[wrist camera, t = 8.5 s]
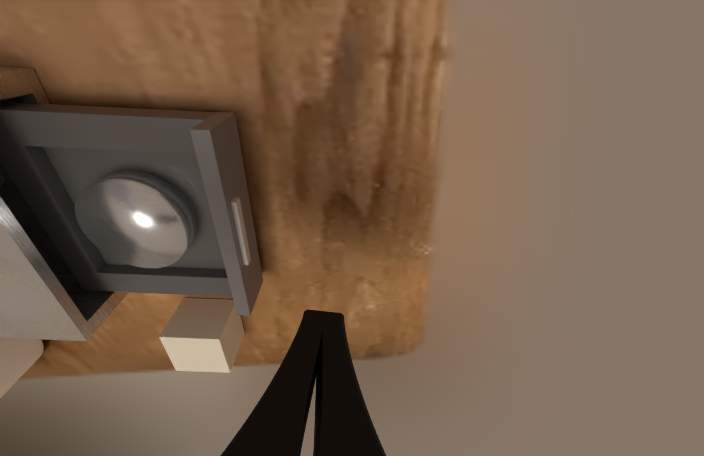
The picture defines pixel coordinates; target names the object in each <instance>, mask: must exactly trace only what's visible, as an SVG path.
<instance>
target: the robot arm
mask: <svg viewBox="0 0 704 456" xmlns="http://www.w3.org/2000/svg"><path fill="white" fill-rule="evenodd" d="M315 379H316V400H315V429H314V451H313V456H386V454H385V452H384V450H383V447H382V445H381V443H380V440H379V438H378V436H377V433H376V431H375V428H374V426H373V423H372V421H371V418H370V416H369V413H368V410H367V407H366V405H365V402H364V399H363V396H362V393H361V390H360V387H359V384H358V380H357V377H356V374H355V371H354V367H353V363H352V359H351V355H350V351H349V347H348V342H347V337H346V331H345V324H344V315H343V314H342V313H334V312H325V311H316V310H306V311H304V315H303V318H302V321H301V324H300V326H299V329H298V331H297V334H296V336H295V338H294V340H293V342H292V345H291V347H290V348H289V350H288V352H287V354H286V356H285V358H284V360H283V362H282V364H281V366H280V368H279V369H278V371H277V373H276V374H275V376H274V378H273V379H272V381H271V383H270V385H269V386H268V388H267V389H266V391H265V393H264V394H263V396H262V397H261V399H260V401H259V402H258V404H257V405H256V407H255V408H254V410H253V411H252V413H251V414H250V416H249V417H248V419H247V420H246V422H245V423H244V424H243V426H242V427H241V429H240V430H239V431H238V433H237V434H236V436H235V437H234V439H233V440H232V441H231V443H230V444H229V445H228V447H227V448H226V449H225V451H224V452H223V453H222V455H221V456H300V454H301V448H302V442H303V437H304V432H305V428H306V423H307V418H308V413H309V408H310V403H311V398H312V394H313V389H314V384H315Z"/></svg>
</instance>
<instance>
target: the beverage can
mask: <svg viewBox="0 0 704 456" xmlns="http://www.w3.org/2000/svg"><path fill="white" fill-rule="evenodd" d="M43 350H44V346H43V342H42V340H41V339H19V338H0V398H1V397H2V396H3V395H4V394H5V393H6V392H7V391H8V389H10V387H11V386H12V385H13V384H14V383H15V382H16V381H17V380H18V379H19V378H20V377H21V376H22V375H23V374H24V373H25V372H26V371H27V370H28V369H29V368H30V367H31V366H32V365H33V364H34V363H35V361H36V360H37V359H38V358H39V357H40V356H41V355H42V353H43Z"/></svg>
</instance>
